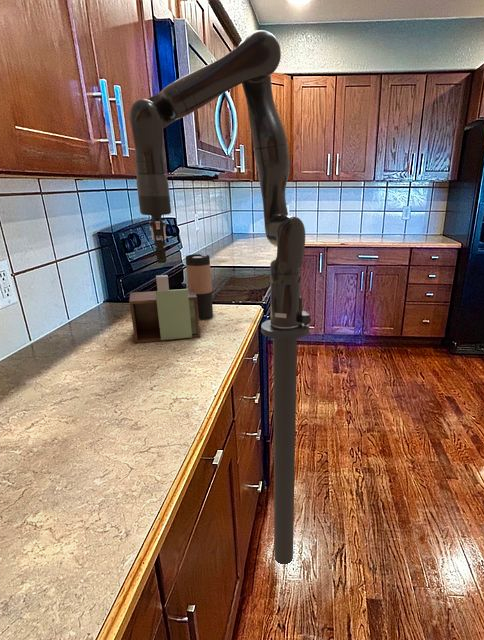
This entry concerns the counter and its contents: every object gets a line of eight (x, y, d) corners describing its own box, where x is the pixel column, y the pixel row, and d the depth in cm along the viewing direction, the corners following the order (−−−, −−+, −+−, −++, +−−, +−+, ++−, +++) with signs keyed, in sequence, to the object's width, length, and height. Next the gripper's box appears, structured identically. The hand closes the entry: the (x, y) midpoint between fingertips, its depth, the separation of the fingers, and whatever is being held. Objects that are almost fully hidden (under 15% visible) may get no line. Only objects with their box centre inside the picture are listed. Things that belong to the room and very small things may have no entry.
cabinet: (196, 326, 131) (193, 288, 127) (200, 336, 123) (197, 296, 118) (135, 331, 126) (130, 292, 122) (135, 343, 118) (129, 301, 113)
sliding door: (191, 335, 122) (186, 273, 115) (192, 338, 120) (186, 275, 113) (160, 338, 120) (153, 275, 113) (161, 340, 118) (153, 277, 111)
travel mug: (192, 320, 136) (187, 258, 129) (188, 314, 143) (183, 254, 135) (215, 318, 139) (212, 257, 131) (211, 312, 146) (207, 253, 138)
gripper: (170, 195, 99) (177, 264, 106) (167, 193, 112) (174, 255, 118) (137, 195, 97) (146, 265, 104) (138, 193, 110) (146, 256, 116)
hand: (161, 259), depth 111 cm, fingers open, 8 cm apart
